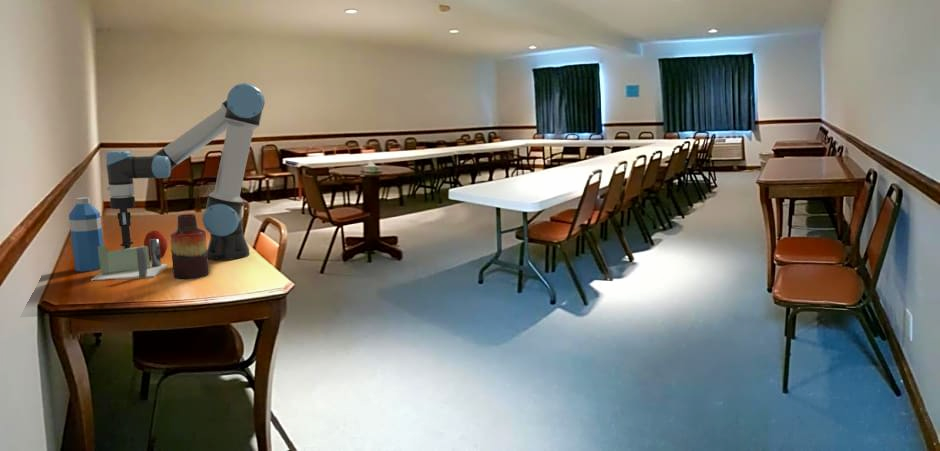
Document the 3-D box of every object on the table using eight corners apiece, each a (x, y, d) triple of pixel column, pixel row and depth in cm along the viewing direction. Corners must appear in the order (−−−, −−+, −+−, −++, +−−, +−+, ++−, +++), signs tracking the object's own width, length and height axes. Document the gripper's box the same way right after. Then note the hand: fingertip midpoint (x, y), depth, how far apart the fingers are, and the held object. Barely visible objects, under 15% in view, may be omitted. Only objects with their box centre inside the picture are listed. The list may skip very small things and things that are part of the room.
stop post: (147, 276, 217) (144, 246, 216) (145, 277, 216) (143, 247, 214) (141, 276, 217) (138, 247, 215) (139, 278, 215) (136, 248, 213)
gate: (147, 265, 229) (145, 240, 228) (150, 266, 228) (147, 241, 226) (100, 272, 219) (97, 246, 218) (102, 273, 218) (99, 247, 216)
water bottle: (92, 271, 225) (84, 199, 221) (68, 270, 227) (60, 199, 223) (111, 265, 234) (104, 196, 230) (89, 265, 236) (81, 196, 232)
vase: (215, 273, 221) (211, 213, 217) (192, 280, 211) (187, 218, 207) (190, 271, 224) (185, 212, 221) (166, 278, 214) (160, 217, 211)
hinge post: (162, 266, 232) (159, 238, 231) (160, 268, 229) (157, 240, 228) (153, 266, 232) (150, 239, 230) (150, 268, 229) (148, 240, 227)
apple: (140, 257, 248) (137, 229, 247) (162, 253, 255) (159, 226, 253) (150, 260, 243) (147, 231, 241) (172, 256, 249) (169, 228, 248)
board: (167, 265, 233) (167, 263, 233) (154, 277, 216) (153, 275, 216) (109, 268, 230) (109, 267, 230) (91, 280, 212) (91, 279, 212)
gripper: (110, 194, 227) (116, 260, 231) (109, 199, 216) (116, 268, 220) (134, 193, 231) (140, 258, 235) (134, 197, 219) (141, 266, 224)
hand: (128, 263), depth 228 cm, fingers closed
